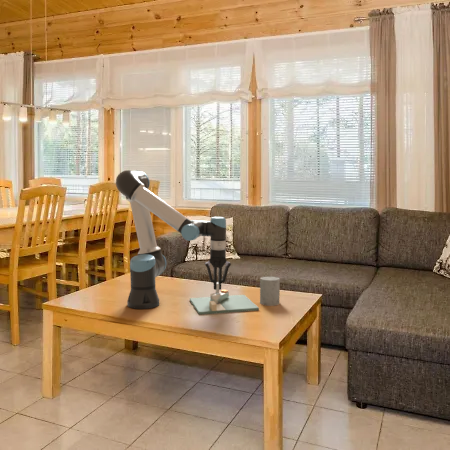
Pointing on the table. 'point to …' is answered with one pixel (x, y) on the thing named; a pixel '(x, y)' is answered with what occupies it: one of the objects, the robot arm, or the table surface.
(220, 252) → the robot arm
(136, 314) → the table surface
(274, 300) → the speckled grey cylinder
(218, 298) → the bar
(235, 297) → the board
